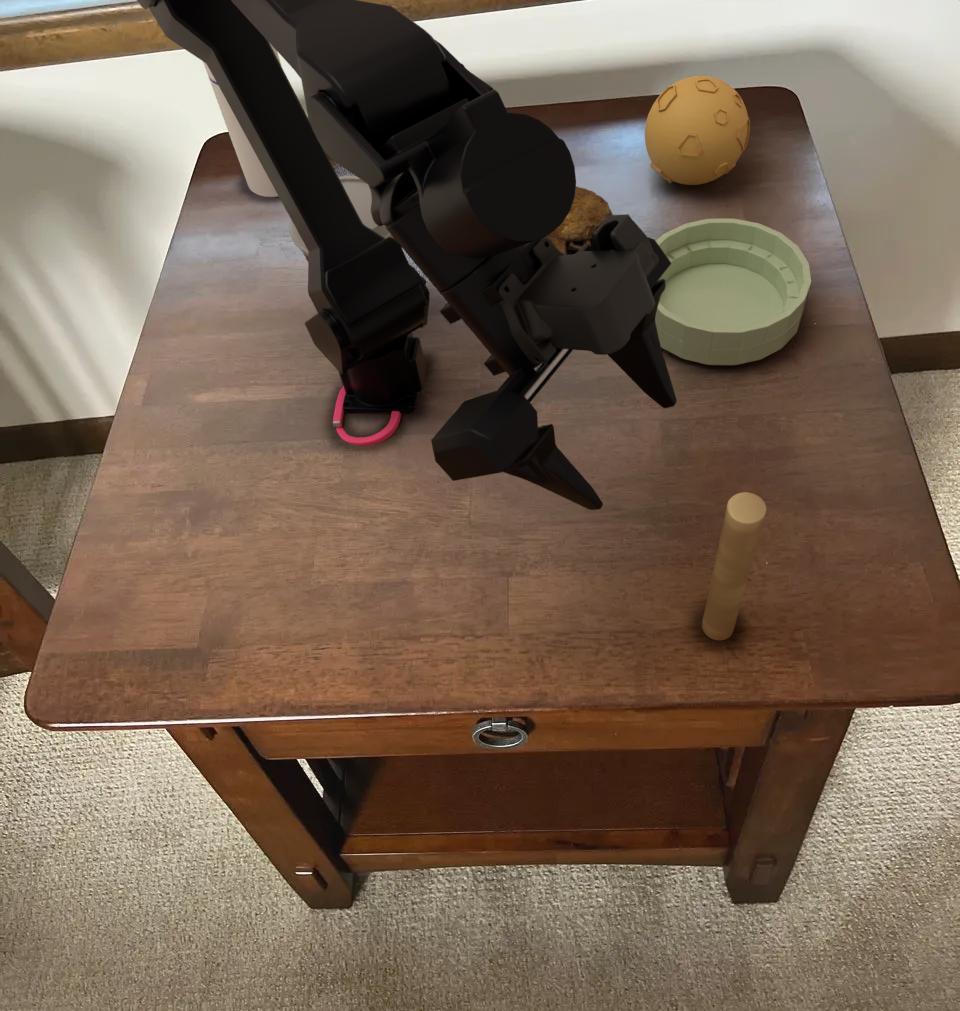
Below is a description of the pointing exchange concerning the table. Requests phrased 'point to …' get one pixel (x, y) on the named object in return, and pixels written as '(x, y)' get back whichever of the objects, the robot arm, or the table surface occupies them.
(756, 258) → the bowl
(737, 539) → the stick
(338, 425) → the fitness band
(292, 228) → the disposable coffee cup
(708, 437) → the table surface
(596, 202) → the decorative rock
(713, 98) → the stress ball
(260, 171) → the cylindrical container
